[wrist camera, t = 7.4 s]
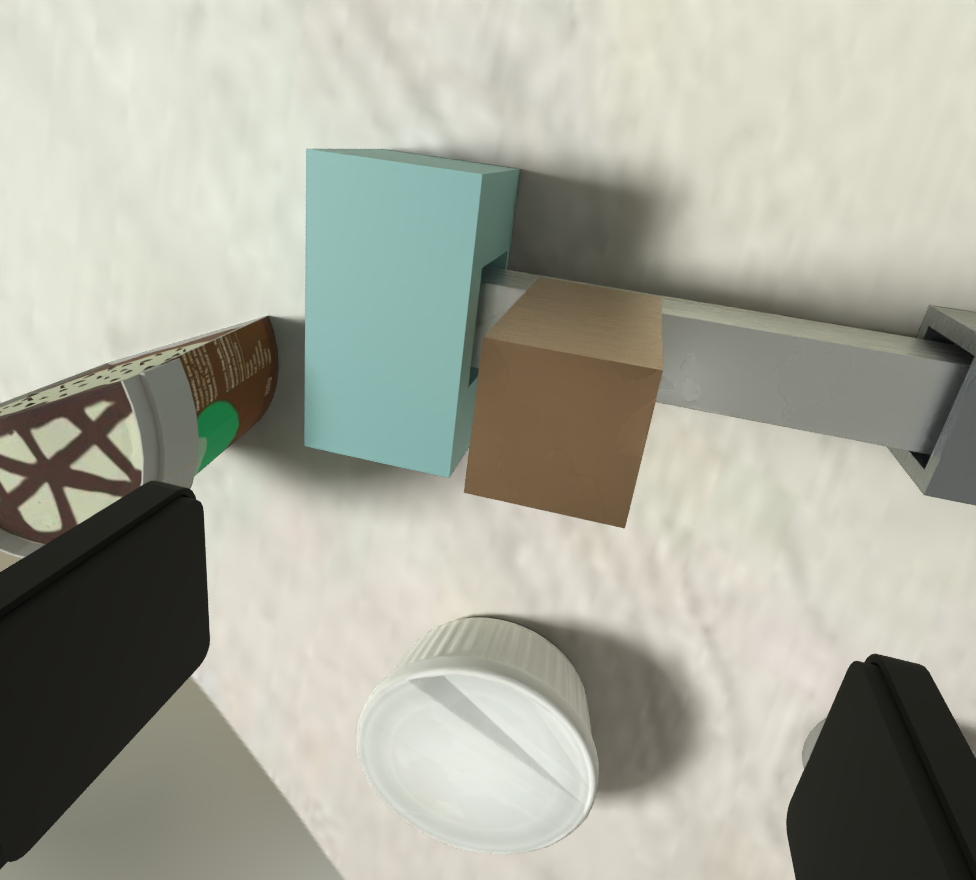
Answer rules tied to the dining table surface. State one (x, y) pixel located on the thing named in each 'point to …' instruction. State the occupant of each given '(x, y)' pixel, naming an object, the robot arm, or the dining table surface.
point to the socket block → (397, 300)
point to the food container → (128, 428)
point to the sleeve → (949, 419)
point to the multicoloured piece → (671, 385)
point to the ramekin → (482, 739)
